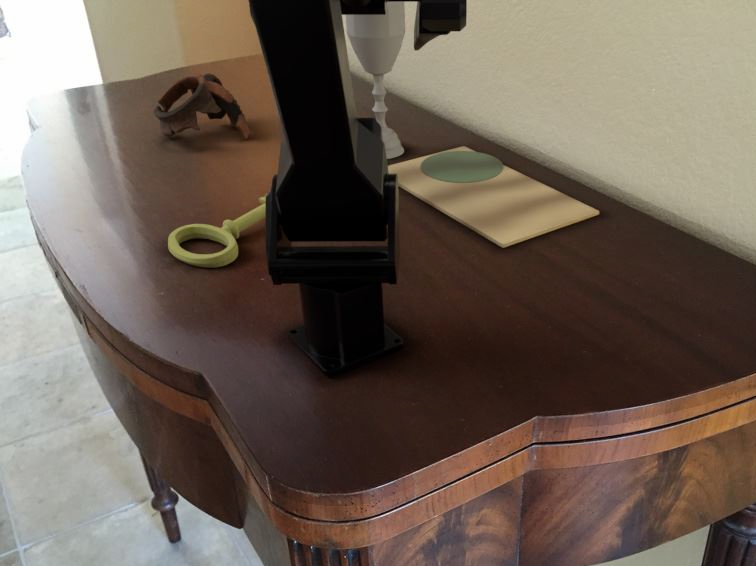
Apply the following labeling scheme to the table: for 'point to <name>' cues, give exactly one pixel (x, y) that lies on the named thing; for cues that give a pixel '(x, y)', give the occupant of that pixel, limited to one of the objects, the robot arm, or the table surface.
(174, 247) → the key
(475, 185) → the place mat
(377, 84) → the chalice
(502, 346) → the table surface
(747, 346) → the table surface
